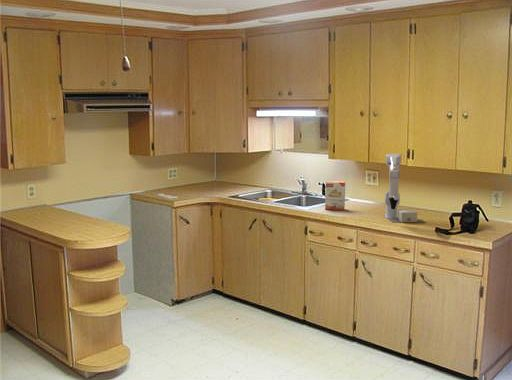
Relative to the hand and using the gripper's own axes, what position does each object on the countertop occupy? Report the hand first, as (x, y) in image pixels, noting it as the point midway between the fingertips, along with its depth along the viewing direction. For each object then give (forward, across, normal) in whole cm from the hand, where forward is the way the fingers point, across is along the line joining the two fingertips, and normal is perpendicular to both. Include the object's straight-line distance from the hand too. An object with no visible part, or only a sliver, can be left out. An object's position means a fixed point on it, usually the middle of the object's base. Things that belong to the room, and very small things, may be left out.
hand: (393, 209), depth 359 cm
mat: (+10, +9, -12) cm, 18 cm away
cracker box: (+10, +50, +31) cm, 60 cm away
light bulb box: (+6, +4, -12) cm, 14 cm away
